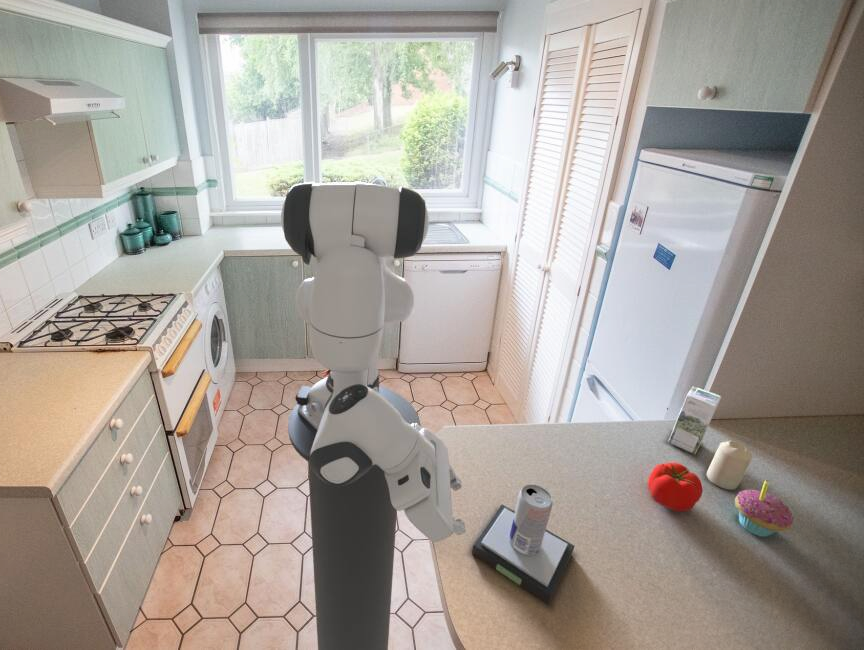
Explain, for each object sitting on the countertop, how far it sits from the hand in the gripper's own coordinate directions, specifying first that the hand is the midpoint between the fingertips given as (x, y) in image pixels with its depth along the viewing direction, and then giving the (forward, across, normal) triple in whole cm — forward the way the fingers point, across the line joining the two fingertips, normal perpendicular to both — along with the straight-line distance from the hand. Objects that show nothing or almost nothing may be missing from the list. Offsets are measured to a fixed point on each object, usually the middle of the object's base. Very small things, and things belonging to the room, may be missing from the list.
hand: (460, 507), depth 79 cm
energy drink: (+14, 0, +3) cm, 15 cm away
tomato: (+39, -18, +25) cm, 49 cm away
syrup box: (+47, -36, +34) cm, 68 cm away
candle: (+48, -25, +35) cm, 65 cm away
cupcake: (+48, -14, +35) cm, 61 cm away
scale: (+16, -1, +2) cm, 16 cm away
